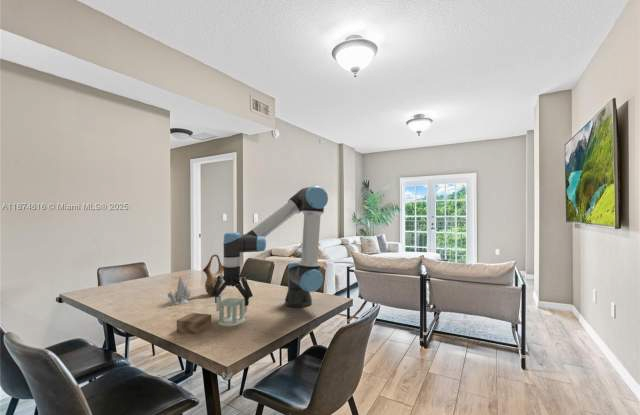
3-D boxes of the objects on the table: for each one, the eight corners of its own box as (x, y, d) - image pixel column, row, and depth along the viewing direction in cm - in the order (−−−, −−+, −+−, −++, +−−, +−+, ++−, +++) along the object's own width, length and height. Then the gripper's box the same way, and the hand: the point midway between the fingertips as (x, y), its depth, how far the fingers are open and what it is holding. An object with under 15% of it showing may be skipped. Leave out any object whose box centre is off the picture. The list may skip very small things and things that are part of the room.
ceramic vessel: (208, 299, 180) (208, 256, 180) (198, 296, 185) (198, 255, 185) (229, 293, 194) (230, 253, 194) (220, 291, 199) (220, 252, 199)
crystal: (161, 305, 168) (162, 278, 168) (179, 299, 180) (179, 273, 180) (176, 307, 165) (176, 279, 165) (193, 300, 177) (193, 274, 178)
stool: (243, 317, 145) (243, 298, 146) (234, 323, 138) (235, 303, 138) (228, 316, 148) (228, 297, 148) (219, 322, 140) (219, 302, 140)
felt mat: (249, 318, 147) (249, 316, 147) (236, 327, 135) (236, 325, 135) (227, 316, 150) (227, 314, 150) (212, 325, 138) (212, 323, 138)
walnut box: (211, 325, 137) (211, 314, 137) (197, 334, 128) (197, 322, 128) (192, 323, 140) (192, 312, 140) (176, 332, 130) (176, 320, 130)
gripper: (259, 265, 144) (259, 311, 143) (213, 263, 150) (212, 306, 149) (252, 268, 136) (252, 316, 136) (203, 265, 143) (203, 311, 142)
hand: (231, 311), depth 143 cm, fingers open, 13 cm apart
